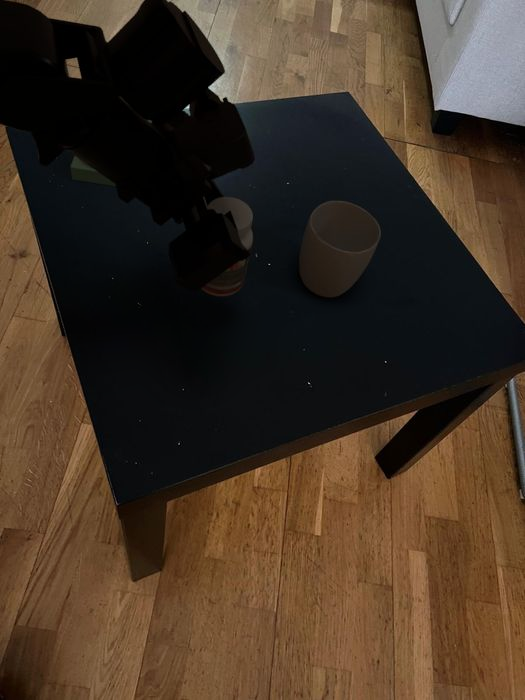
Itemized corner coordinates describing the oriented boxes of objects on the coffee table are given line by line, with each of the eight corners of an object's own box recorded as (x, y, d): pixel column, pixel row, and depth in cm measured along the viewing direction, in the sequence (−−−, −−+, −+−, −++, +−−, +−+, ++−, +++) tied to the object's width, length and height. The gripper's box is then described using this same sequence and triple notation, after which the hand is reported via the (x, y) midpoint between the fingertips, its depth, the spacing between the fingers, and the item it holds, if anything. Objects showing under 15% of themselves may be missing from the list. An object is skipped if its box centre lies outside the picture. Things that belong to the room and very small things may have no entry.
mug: (344, 315, 70) (369, 264, 62) (282, 287, 71) (298, 233, 63) (371, 255, 78) (397, 201, 69) (314, 230, 78) (333, 174, 70)
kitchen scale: (70, 179, 76) (68, 163, 73) (83, 144, 80) (81, 128, 78) (129, 189, 77) (128, 173, 74) (139, 154, 81) (138, 137, 79)
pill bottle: (252, 288, 61) (269, 224, 53) (209, 304, 59) (219, 240, 51) (227, 254, 64) (239, 187, 56) (184, 268, 61) (190, 201, 53)
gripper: (235, 164, 37) (334, 259, 49) (176, 20, 46) (272, 131, 58) (121, 255, 41) (239, 322, 53) (88, 106, 50) (196, 193, 62)
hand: (238, 235), depth 56 cm, fingers closed on pill bottle, 6 cm apart
